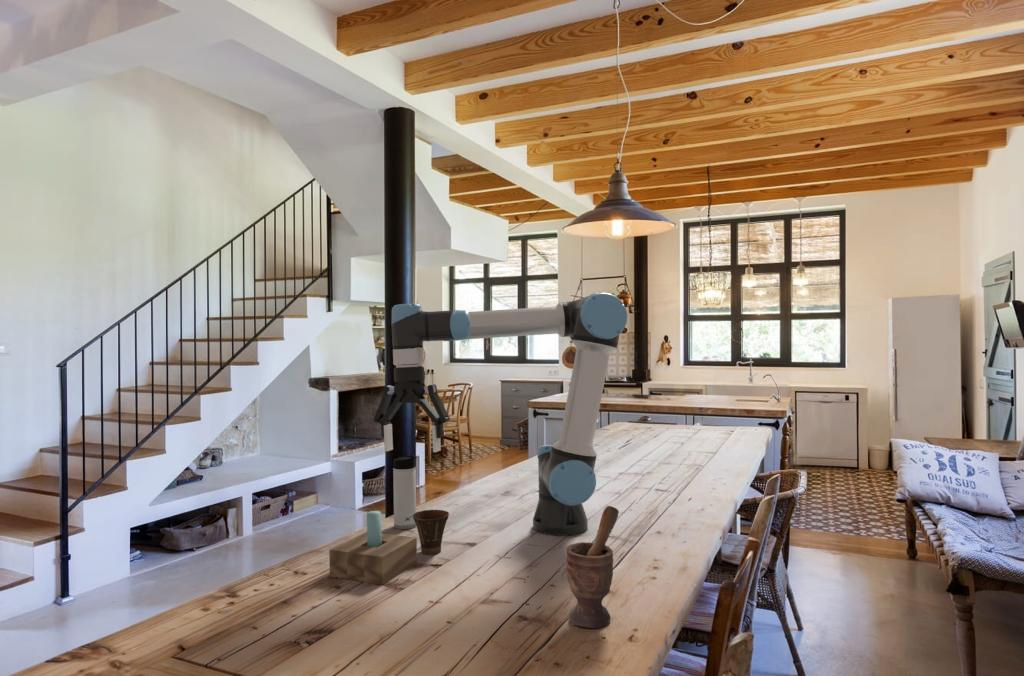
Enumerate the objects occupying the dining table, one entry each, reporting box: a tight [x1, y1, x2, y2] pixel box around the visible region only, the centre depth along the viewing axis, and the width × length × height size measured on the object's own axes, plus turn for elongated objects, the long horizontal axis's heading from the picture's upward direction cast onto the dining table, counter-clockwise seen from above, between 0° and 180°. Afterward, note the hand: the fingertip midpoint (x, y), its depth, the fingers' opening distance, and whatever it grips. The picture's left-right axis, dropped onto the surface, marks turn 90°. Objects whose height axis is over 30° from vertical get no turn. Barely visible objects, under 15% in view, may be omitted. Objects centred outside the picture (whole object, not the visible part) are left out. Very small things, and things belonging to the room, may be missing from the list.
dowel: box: [366, 510, 382, 548], centre depth 143 cm, size 3×3×12 cm
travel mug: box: [392, 454, 418, 530], centre depth 177 cm, size 6×7×20 cm
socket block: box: [328, 531, 418, 586], centre depth 143 cm, size 14×14×6 cm
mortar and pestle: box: [565, 505, 619, 629], centre depth 117 cm, size 12×9×20 cm
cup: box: [413, 509, 450, 555], centre depth 156 cm, size 9×9×10 cm
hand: (412, 451), depth 156 cm, fingers open, 13 cm apart
